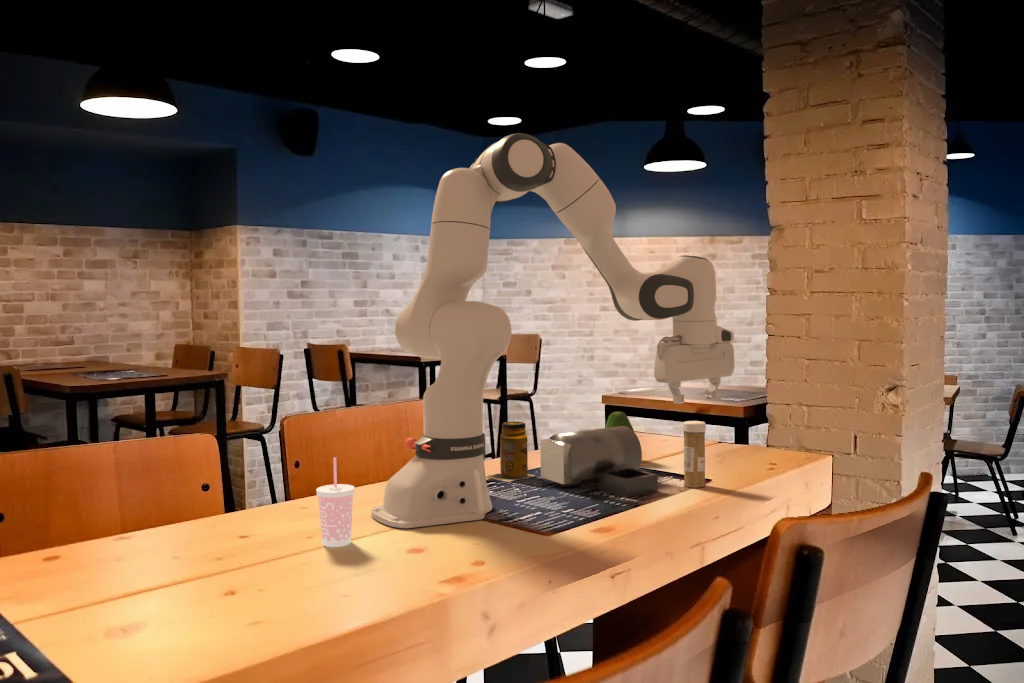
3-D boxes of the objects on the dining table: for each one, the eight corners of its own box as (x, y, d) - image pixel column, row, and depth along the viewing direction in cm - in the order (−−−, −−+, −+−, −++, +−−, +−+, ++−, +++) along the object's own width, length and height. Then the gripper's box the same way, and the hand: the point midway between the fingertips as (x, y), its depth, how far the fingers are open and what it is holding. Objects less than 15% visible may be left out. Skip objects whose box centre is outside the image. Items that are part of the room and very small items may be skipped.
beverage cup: (310, 542, 134) (308, 457, 133) (344, 535, 138) (342, 452, 137) (328, 550, 129) (326, 463, 128) (362, 543, 133) (361, 457, 132)
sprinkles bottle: (708, 488, 168) (708, 423, 168) (686, 488, 168) (686, 423, 167) (701, 483, 173) (701, 419, 172) (680, 483, 173) (680, 420, 172)
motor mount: (599, 502, 157) (598, 446, 157) (536, 483, 174) (536, 431, 174) (684, 486, 170) (684, 433, 169) (618, 469, 187) (618, 421, 187)
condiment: (536, 476, 181) (535, 422, 181) (508, 482, 175) (507, 427, 175) (513, 471, 187) (512, 419, 186) (485, 477, 181) (484, 423, 180)
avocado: (598, 458, 200) (598, 410, 199) (628, 456, 202) (628, 408, 202) (611, 465, 192) (611, 414, 192) (642, 462, 194) (641, 412, 194)
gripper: (669, 337, 160) (669, 407, 161) (739, 332, 172) (739, 398, 173) (646, 336, 166) (647, 404, 167) (716, 331, 177) (716, 395, 178)
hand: (695, 401), depth 170 cm, fingers open, 8 cm apart
